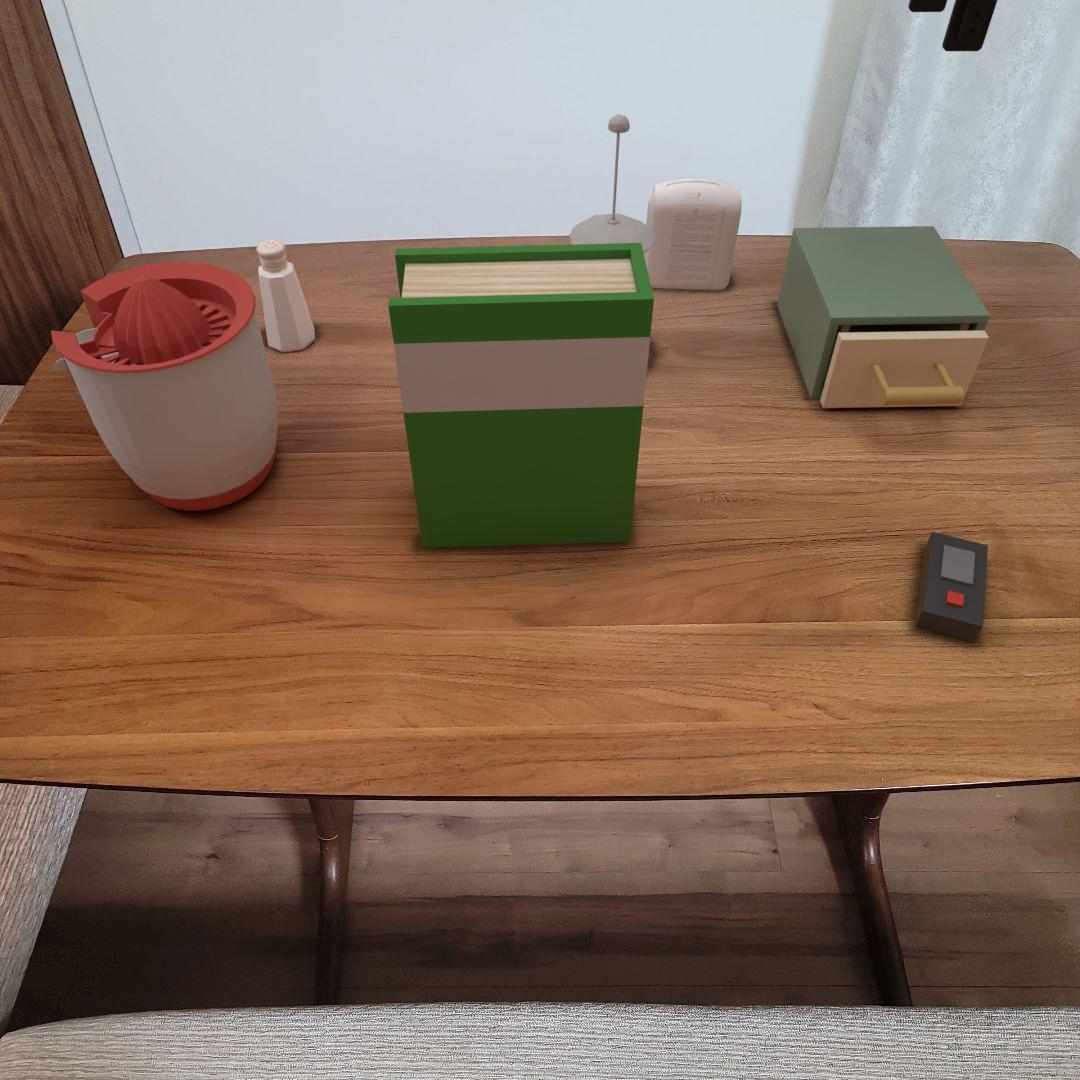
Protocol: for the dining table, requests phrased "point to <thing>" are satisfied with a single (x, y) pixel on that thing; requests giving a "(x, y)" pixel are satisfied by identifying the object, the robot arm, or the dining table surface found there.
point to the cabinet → (868, 288)
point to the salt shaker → (283, 300)
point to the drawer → (901, 365)
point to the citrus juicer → (177, 381)
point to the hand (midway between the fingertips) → (942, 29)
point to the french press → (613, 225)
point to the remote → (952, 587)
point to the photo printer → (692, 233)
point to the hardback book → (523, 389)
